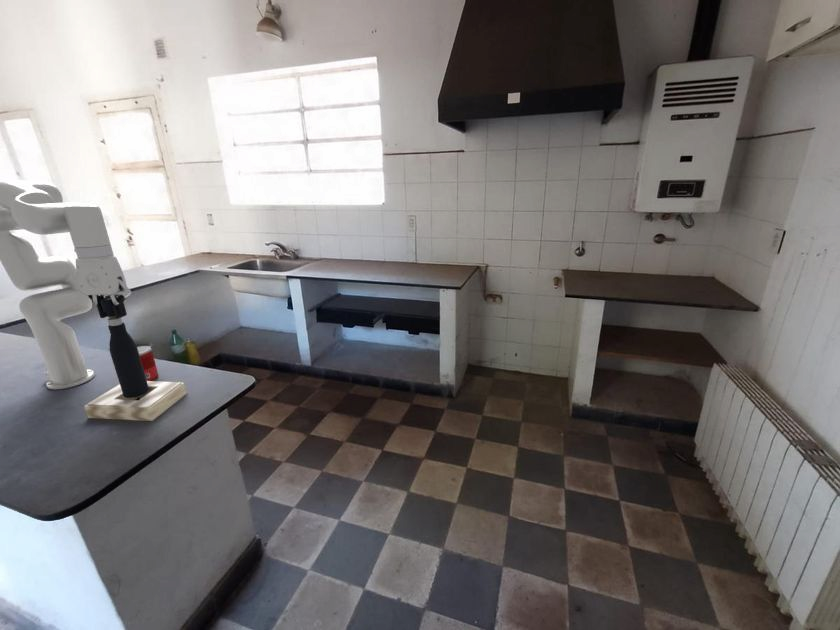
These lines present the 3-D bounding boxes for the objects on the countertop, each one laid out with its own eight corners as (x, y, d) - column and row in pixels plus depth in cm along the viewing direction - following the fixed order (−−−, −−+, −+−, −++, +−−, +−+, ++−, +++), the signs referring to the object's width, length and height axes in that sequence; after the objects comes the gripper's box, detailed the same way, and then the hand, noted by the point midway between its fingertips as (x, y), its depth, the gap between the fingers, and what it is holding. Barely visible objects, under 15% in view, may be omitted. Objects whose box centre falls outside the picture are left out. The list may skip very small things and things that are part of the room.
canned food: (163, 374, 137) (156, 346, 133) (146, 385, 129) (138, 356, 126) (144, 373, 138) (136, 345, 134) (125, 384, 130) (116, 355, 126)
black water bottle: (127, 400, 112) (97, 303, 102) (120, 393, 116) (90, 299, 106) (152, 391, 117) (126, 297, 107) (144, 384, 121) (118, 293, 111)
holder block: (88, 417, 112) (83, 404, 110) (129, 391, 126) (126, 379, 124) (152, 421, 110) (148, 407, 109) (186, 393, 124) (183, 381, 123)
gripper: (52, 254, 99) (74, 320, 105) (111, 255, 98) (130, 322, 104) (79, 249, 106) (98, 311, 112) (135, 250, 105) (151, 313, 111)
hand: (113, 316), depth 108 cm, fingers closed on black water bottle, 3 cm apart
